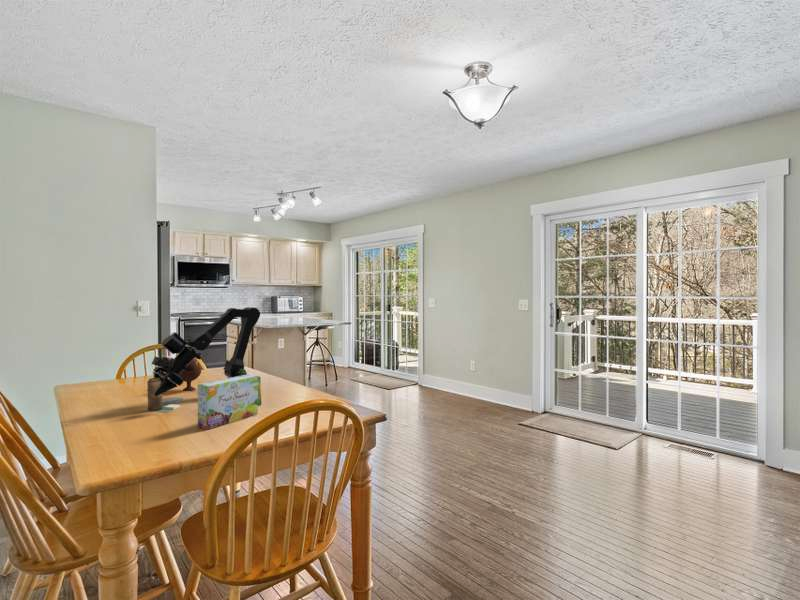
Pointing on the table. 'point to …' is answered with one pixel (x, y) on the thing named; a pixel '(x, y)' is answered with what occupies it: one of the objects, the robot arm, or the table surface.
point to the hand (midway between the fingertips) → (151, 393)
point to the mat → (167, 408)
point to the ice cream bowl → (190, 374)
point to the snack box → (227, 401)
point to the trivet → (171, 400)
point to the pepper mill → (153, 400)
